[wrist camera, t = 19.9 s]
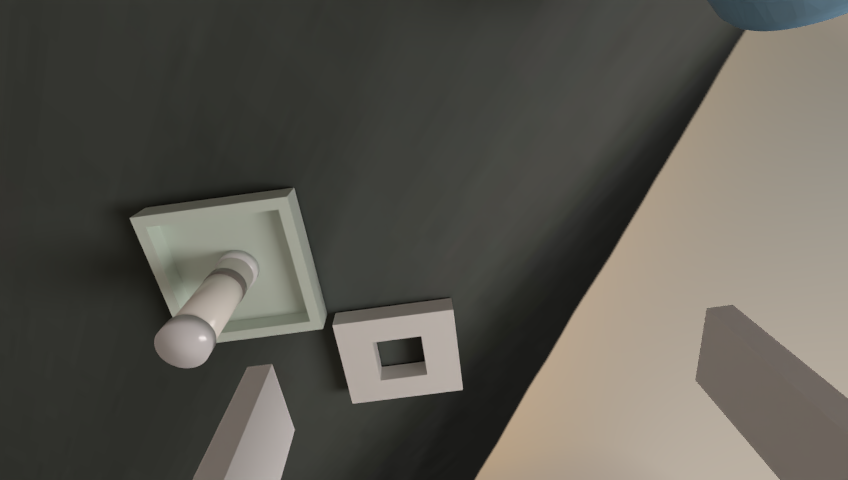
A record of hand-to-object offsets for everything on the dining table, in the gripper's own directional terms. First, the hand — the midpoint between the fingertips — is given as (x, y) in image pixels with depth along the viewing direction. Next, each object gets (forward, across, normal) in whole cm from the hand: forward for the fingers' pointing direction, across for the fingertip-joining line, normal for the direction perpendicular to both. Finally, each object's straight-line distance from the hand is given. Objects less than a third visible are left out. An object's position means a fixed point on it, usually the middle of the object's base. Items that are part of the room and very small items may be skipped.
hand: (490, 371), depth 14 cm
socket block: (+35, -7, -25) cm, 43 cm away
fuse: (+34, -23, -11) cm, 42 cm away
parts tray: (+35, -23, -11) cm, 43 cm away
